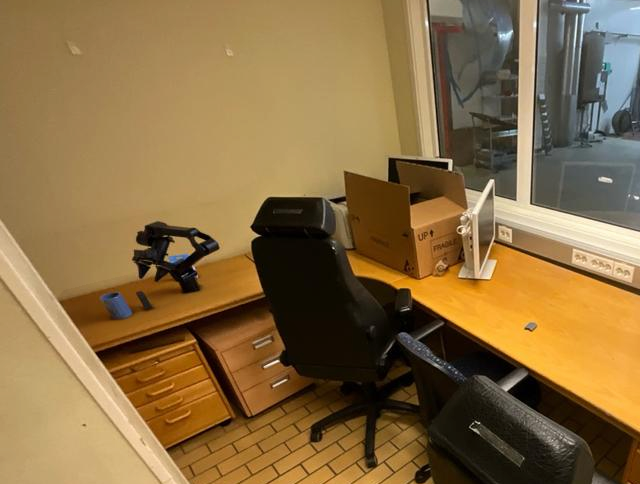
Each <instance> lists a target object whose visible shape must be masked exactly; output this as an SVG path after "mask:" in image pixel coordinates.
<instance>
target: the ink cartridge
mask: <svg viewBox="0 0 640 484" xmlns="http://www.w3.org/2000/svg"><path fill="white" fill-rule="evenodd" d="M135 295H136V296H137V297H138V299H139V301H140V303H141V304H142V306H143V307H144V309H146V310H147V311H149V310H152V309H154V307H153V305H152V304H151V302H150V301H149V299H148V297H147V296H146V293H144V292H143V291H142V290H139V291H135Z"/></svg>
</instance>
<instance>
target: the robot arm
mask: <svg viewBox="0 0 640 484" xmlns="http://www.w3.org/2000/svg"><path fill="white" fill-rule="evenodd" d="M136 233H137V235H136V237H135V242H136V243H137V245H140V246H144V247H147V248H144V249H133V256H132V258H131V261H132V262H133V263H134V264H135V265H136V266H137V271H138V279H139V280H142V279H143V278H144V277H145V276H146V274H147V273H148V272H149V271H150V269H152V267H151V266H152V265H154V266H155V269H156V272H155V276H154V280H153V281H154V282H156V283H158V282H159V281H160V280H161V279H163V278H164V277H166V276H167V275H168V274H169V275H170V276H171V278H172V279H173V280H174V282H177V283H178V284H179V286H180V288H181V291H183V294H188V293H193V292H194V293H195V292H199V291H200V290H201V284H199V282H198V279H197V278H195V276H197V275H198V276H199V273H198V271H197V270H196V269H195V270H196V271H195V270H194V269H193V268H192V266H194V265H196V264H197V263H199V262H200V261H201V260H202V259H204V258H205V257H207V256H209V255H211V254H213V253H215V252H217V251H219V250H220V248H221V247H220V244H219V242H218V241H217V240H216V239H215V238H213V237H212V236H211V235H209V234H207V233H204V232H202V231H200V230H199V229H198V228H196V227H186V226H178V225H170V224H167V223H166V222H164V221H160V220H156V221H153V222H150V223H148V224H145V225H144V230H139V231H137V232H136ZM173 237H175V238H176V237H177V238H183V239H187V240H188V241H189V242H190V245H191V247H192V248H194V251H193V252H192V253H190V254H189V256H188V257H187V258H186V259H185V260H184V259H183V257H181V258H182V259H180V260H178V261H176V262H174V263H170V261H167V260H165V258H166V257H168V256H170V255H169V253H168V250H169V248H170V244H171V243H172V244H175V243H176V241H175V239H174V238H173ZM196 238H199V239H201V240H203V241H201V242H198V241H196ZM187 273H188V274H187ZM185 274H187V275H185ZM183 275H185V276H183ZM182 276H183V277H182Z"/></svg>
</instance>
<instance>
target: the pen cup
mask: <svg viewBox="0 0 640 484" xmlns="http://www.w3.org/2000/svg"><path fill="white" fill-rule="evenodd" d="M99 300H100V301H101V303H102V305H103V306H104V308H105V309H106V311H107V312H108V314H109V315H110V317H111V318H112V319H113V320H123V319H126V318H129V317H131V316H132V315H133V311H132V309H131V308H130V306H129V305H128V303H127V301H126V300H125V298H124V296H123V295H122V293H121V292H120V291H113V292H108V293H105V294H102V295H101V296H100V297H99Z"/></svg>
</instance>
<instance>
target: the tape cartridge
mask: <svg viewBox="0 0 640 484" xmlns="http://www.w3.org/2000/svg"><path fill="white" fill-rule="evenodd" d="M188 256H190V254H189V253H184V254H183V253H182V254H175V255H168V256H167V258H168V260H169V262H170V263H174V262H176V261H178V260H180V259H182V258H183V259H184V260H185V259H186V258H187V257H188ZM192 268H193V269H194V270H195V271H197V270H196V268H195V266H194V265H193V266H192ZM187 274H188V273H187ZM187 274H185V275H187ZM185 275H183V276H185ZM183 276H182V277H183ZM195 278H196V279H197V278H199V274H198V275H197V276H195Z"/></svg>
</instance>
